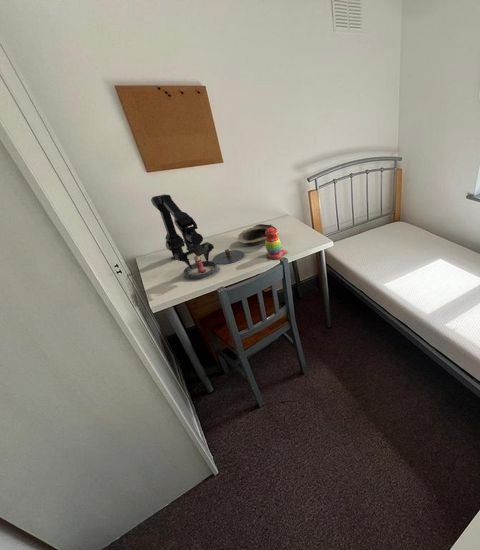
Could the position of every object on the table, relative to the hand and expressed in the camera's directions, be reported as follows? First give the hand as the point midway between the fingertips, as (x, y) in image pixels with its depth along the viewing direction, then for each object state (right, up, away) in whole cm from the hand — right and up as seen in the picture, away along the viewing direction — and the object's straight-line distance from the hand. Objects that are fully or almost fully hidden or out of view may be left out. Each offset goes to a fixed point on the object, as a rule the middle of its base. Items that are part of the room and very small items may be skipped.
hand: (199, 264), depth 161 cm
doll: (0, -4, +2) cm, 4 cm away
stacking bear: (+36, +7, +20) cm, 42 cm away
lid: (+9, +5, +16) cm, 19 cm away
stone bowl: (+20, +16, +36) cm, 44 cm away
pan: (0, -4, +2) cm, 5 cm away
